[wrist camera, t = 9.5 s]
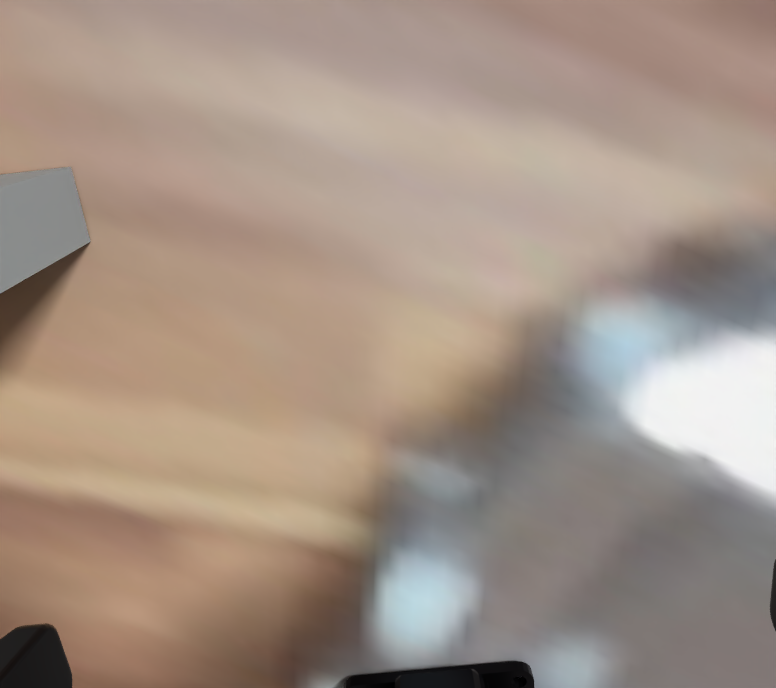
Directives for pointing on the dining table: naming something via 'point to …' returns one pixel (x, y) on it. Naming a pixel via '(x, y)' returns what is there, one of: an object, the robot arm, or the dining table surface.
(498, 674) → the robot arm
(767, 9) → the dining table surface
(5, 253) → the gray u-shaped block
